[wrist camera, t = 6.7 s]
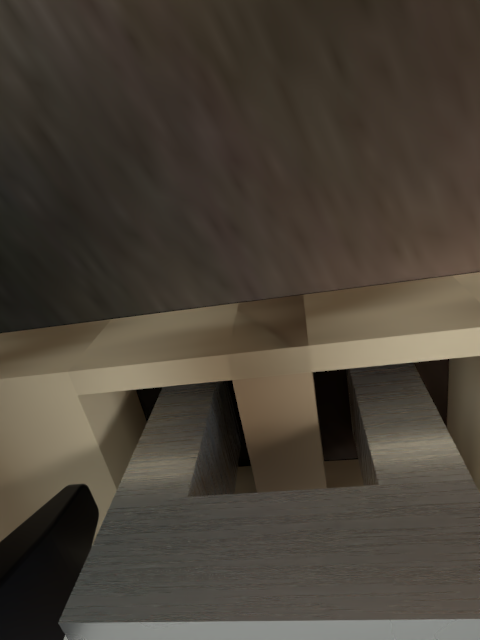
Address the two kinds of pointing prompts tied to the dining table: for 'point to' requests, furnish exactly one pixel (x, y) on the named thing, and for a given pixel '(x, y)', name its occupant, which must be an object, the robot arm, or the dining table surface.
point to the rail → (222, 365)
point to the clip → (287, 532)
